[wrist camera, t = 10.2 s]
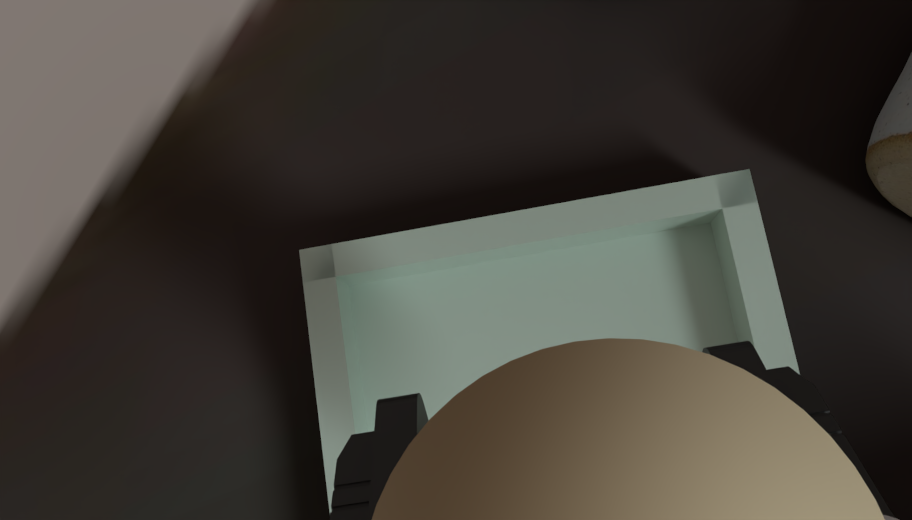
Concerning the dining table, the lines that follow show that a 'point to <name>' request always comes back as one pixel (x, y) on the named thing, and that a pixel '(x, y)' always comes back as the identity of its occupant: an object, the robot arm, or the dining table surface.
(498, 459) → the dowel
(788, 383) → the robot arm
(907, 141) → the ceramic mug
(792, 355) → the tray
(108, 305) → the dining table surface
